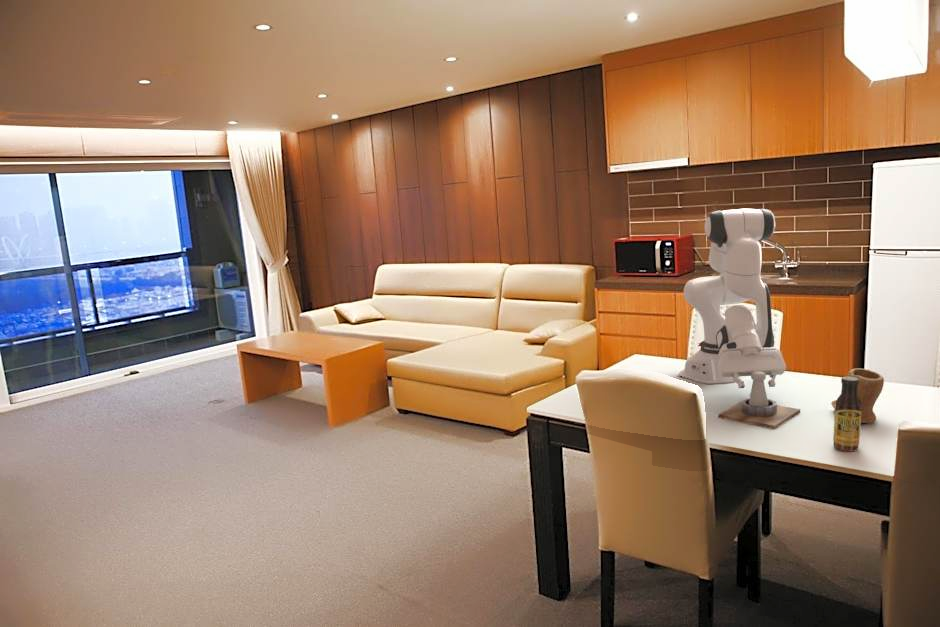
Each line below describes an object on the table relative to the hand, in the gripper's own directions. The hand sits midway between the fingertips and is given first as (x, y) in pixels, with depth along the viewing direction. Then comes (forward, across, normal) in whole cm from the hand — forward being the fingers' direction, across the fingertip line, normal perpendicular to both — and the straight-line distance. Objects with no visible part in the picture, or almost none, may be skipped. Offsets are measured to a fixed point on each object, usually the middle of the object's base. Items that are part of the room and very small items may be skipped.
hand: (757, 386), depth 213 cm
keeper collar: (+7, -1, -7) cm, 9 cm away
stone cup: (+11, -28, -1) cm, 30 cm away
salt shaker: (+6, -1, -6) cm, 9 cm away
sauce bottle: (+27, -13, +15) cm, 34 cm away
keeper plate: (+7, -1, -7) cm, 9 cm away
